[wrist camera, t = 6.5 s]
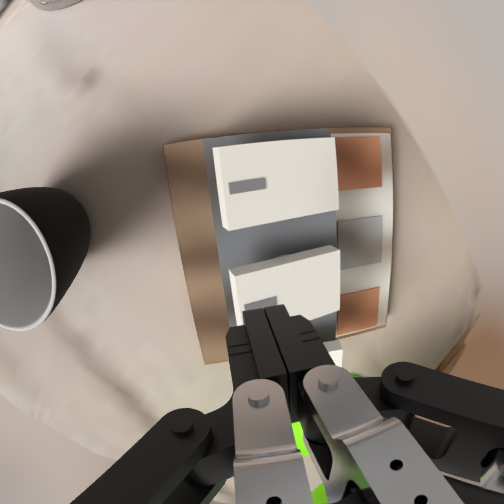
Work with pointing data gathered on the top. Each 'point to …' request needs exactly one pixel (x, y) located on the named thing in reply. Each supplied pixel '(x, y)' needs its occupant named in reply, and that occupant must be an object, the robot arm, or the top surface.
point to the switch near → (275, 181)
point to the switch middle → (290, 283)
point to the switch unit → (287, 232)
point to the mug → (38, 252)
